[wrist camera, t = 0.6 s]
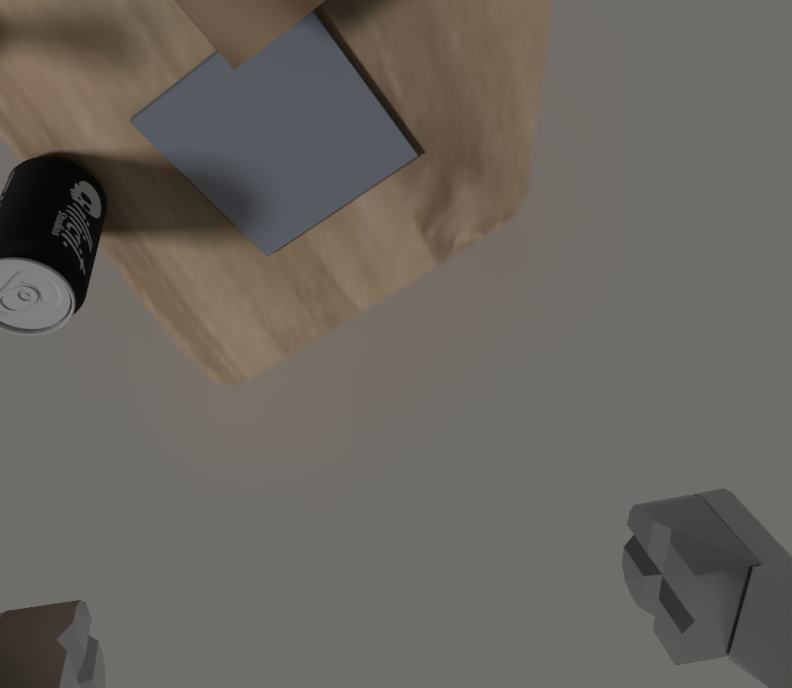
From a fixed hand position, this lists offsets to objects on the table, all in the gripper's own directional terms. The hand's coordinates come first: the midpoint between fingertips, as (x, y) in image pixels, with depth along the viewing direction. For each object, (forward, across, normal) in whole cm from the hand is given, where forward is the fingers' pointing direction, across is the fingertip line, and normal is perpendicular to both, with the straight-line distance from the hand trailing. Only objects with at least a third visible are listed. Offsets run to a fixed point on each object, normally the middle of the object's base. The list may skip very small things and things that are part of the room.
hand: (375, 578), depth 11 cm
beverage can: (+48, +14, +7) cm, 50 cm away
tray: (+46, -2, +4) cm, 46 cm away
